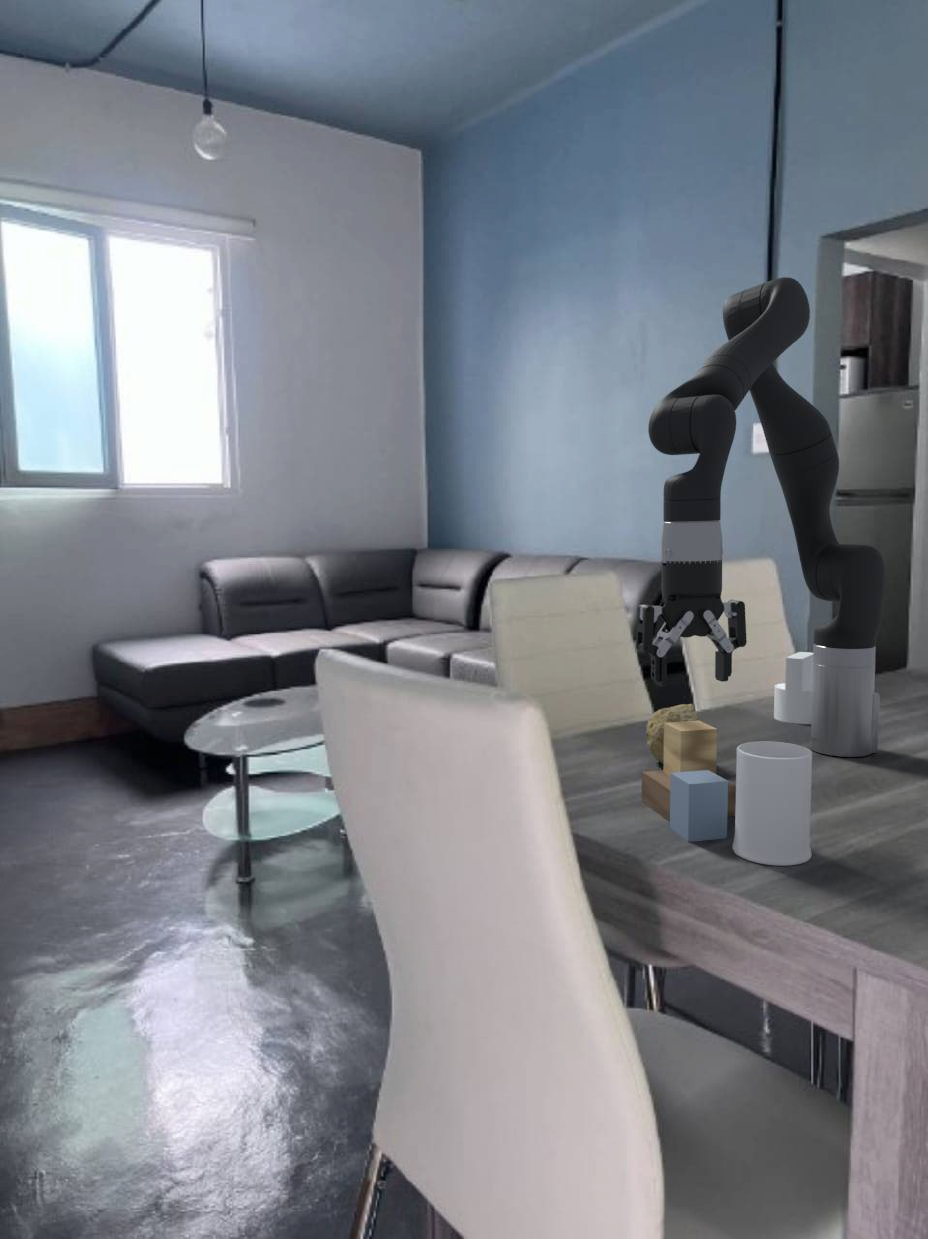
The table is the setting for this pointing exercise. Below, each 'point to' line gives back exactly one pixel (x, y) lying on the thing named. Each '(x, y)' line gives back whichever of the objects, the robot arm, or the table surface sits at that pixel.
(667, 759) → the oak block
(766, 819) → the mug
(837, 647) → the robot arm
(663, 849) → the table surface
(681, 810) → the slate block
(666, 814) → the walnut slab
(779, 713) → the base with upright slab
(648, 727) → the coral
